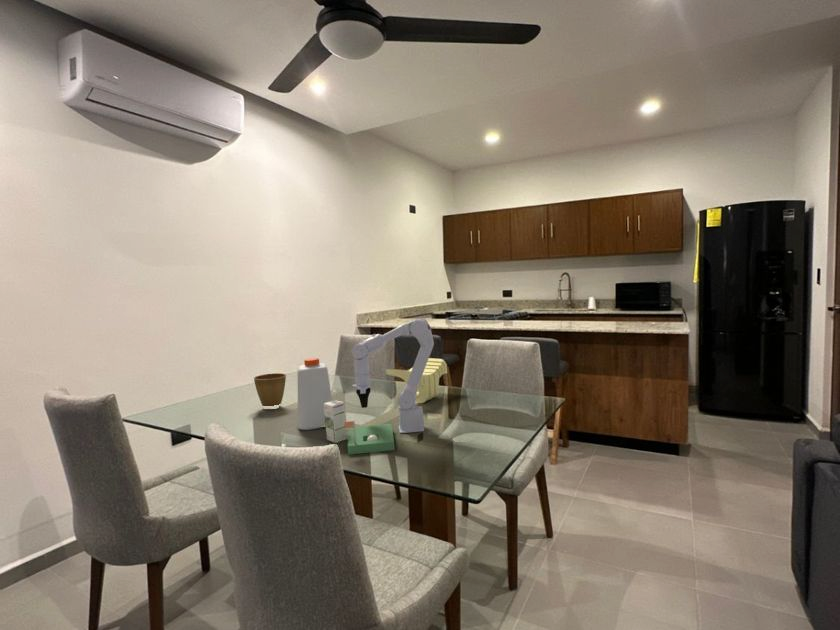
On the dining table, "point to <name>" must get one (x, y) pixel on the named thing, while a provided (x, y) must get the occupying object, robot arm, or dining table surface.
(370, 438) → the ball
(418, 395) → the slatted curved stool
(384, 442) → the green slotted block
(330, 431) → the syrup box
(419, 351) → the robot arm
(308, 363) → the plastic bottle
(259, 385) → the plant pot
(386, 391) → the dining table surface
